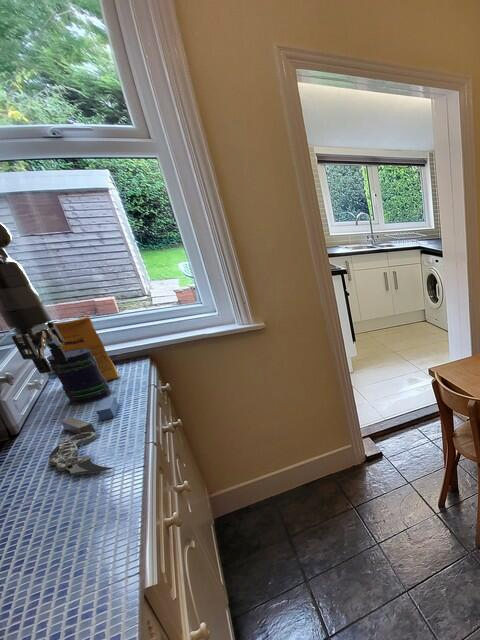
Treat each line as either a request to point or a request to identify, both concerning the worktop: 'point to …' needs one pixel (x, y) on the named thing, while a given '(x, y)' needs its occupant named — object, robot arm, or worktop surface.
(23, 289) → the robot arm
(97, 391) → the storage jar
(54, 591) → the worktop surface
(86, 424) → the walnut bar
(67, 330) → the coffee package
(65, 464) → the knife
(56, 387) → the worktop surface
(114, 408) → the blue bar
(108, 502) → the worktop surface
